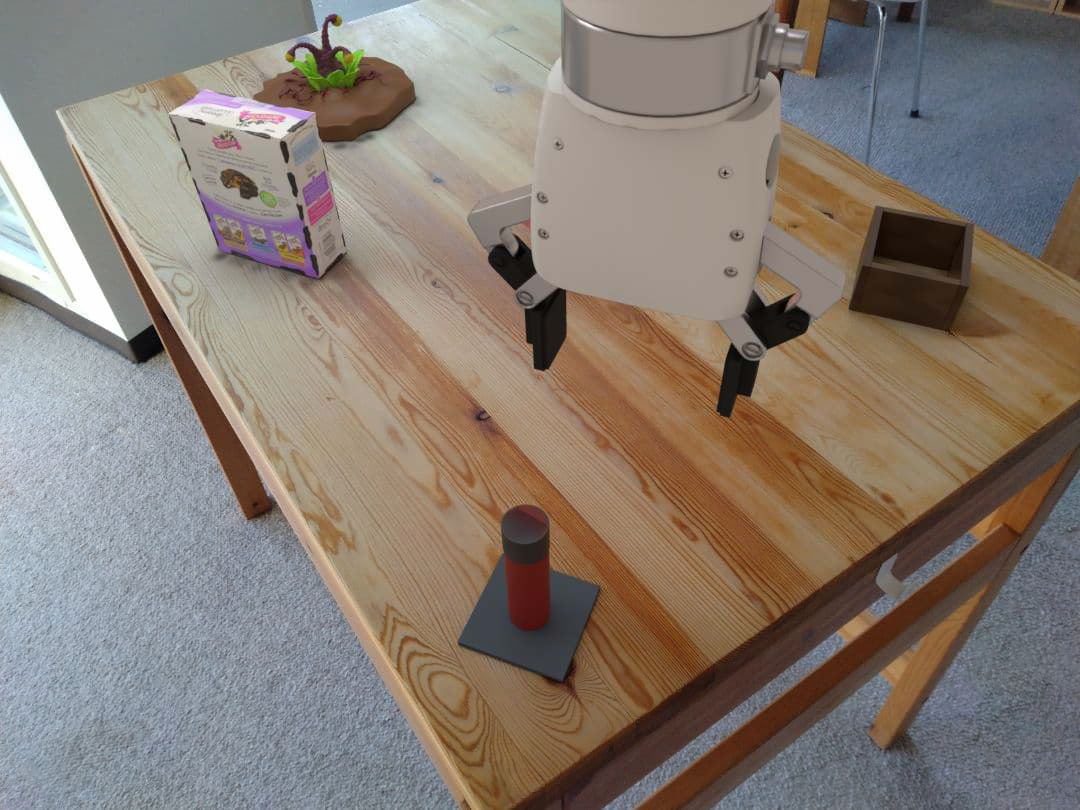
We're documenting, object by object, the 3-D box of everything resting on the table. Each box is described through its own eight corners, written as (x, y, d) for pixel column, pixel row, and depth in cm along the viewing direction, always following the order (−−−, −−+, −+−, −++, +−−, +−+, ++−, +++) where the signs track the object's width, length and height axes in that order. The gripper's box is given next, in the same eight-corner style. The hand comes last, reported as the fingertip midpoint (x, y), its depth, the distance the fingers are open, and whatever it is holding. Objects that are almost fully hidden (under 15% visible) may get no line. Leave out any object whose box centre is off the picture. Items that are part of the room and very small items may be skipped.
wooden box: (956, 267, 89) (974, 223, 85) (949, 331, 82) (969, 286, 78) (862, 248, 92) (875, 205, 88) (848, 309, 85) (862, 264, 81)
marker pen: (557, 601, 62) (556, 512, 54) (541, 637, 60) (538, 550, 52) (518, 588, 63) (512, 498, 55) (501, 623, 61) (492, 535, 53)
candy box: (350, 251, 93) (318, 110, 81) (318, 282, 89) (281, 139, 78) (249, 222, 97) (205, 84, 85) (215, 250, 94) (164, 111, 82)
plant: (440, 93, 118) (431, 10, 110) (341, 154, 107) (323, 67, 99) (338, 58, 126) (323, -21, 118) (236, 111, 116) (211, 28, 107)
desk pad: (600, 588, 63) (600, 585, 63) (562, 683, 58) (562, 680, 58) (502, 555, 66) (502, 552, 65) (457, 644, 60) (457, 641, 60)
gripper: (914, 34, 32) (818, 366, 44) (490, -16, 36) (511, 297, 49) (893, 130, 27) (793, 472, 39) (408, 57, 32) (455, 383, 44)
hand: (637, 375), depth 44 cm, fingers open, 9 cm apart
